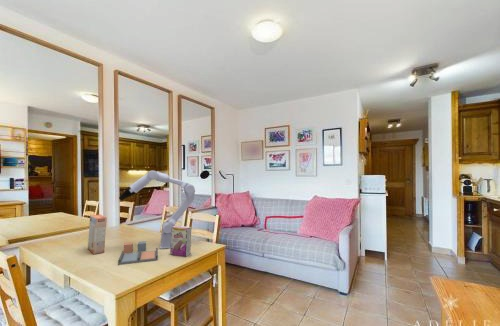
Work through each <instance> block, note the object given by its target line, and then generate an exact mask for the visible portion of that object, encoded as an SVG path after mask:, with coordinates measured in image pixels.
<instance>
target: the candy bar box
mask: <svg viewBox="0 0 500 326" xmlns="http://www.w3.org/2000/svg"><path fill="white" fill-rule="evenodd" d="M191 244H192V227H191V226H184V225H178V224H175V226H173V227H172V229H171V248H170V255H172V256H178V257H183V258H187V257H189V256H190V255H191Z"/></svg>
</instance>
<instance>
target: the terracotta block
mask: <svg viewBox="0 0 500 326" xmlns="http://www.w3.org/2000/svg"><path fill="white" fill-rule="evenodd" d="M133 248H134V241H133V242H132V241H131V242H124V244H123V251H124V254H126V253H133Z"/></svg>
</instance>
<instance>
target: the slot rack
mask: <svg viewBox="0 0 500 326" xmlns="http://www.w3.org/2000/svg"><path fill="white" fill-rule="evenodd" d="M158 253H159V248H158V247H156V248H155V250H149V251H144V252H141V250H139V252H132V253H124V251H121V253H120V255H119V258H118V261H117V265H118V266H120V265H121V266H122V265H127V264H128V265H129V264H137V263H146V262H148V263H149V262H155V261H158V260H159V259H158V258H159V254H158Z"/></svg>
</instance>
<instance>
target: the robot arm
mask: <svg viewBox="0 0 500 326" xmlns="http://www.w3.org/2000/svg"><path fill="white" fill-rule="evenodd" d="M153 180H155V181H156V182H159V183H164V184H166V183H171V184H173V185H177V186H180V187H181V188H182V189H183V192H184V193H185V199H184V200H183V201H182V203H181V204H180V205H179V206H178V208H177V209H176V210H175V212H173V214H172V215H171V216H170V217H169V218H168V219H167V220H166V221H164V222H163V223H162V225H161V227H162V231H161V234H160V244H159V249H160V250H161V249H171V229H172V227H173V226H176V225H177V222H178V221H179V219H180V218H181V217H182V216H183V215H184V213H185V212H186V211H187V210H188V208H189V207H190V206H191V205H192V203H193V202H194V201H195V192H196V189H195V186H194V185H193V184H191V183H189V182H186V181H184V180H181V179H176V178H173V177H170V175H169V174H168V173H166V172H165V173H163V172H160V171H159V170H157V171H156V170H150V171H148V172H147V173H146V174H144V175H143V176H141V177H140V178H139V179H137V180H136V181H135V182H134V183H129V184H128V186H129V187H126V188H125V190H124V192H123V193H122V194H121V195H120V196H119V198H118V199H119V200H120V201H123V200H125V199H127V198H130V197H133V196H134V195H135V194H137V193H138V192H139V191H141V190H142V189H144V188H145V187H146V186H147V185H148V184H150V182H151V181H153Z"/></svg>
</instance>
